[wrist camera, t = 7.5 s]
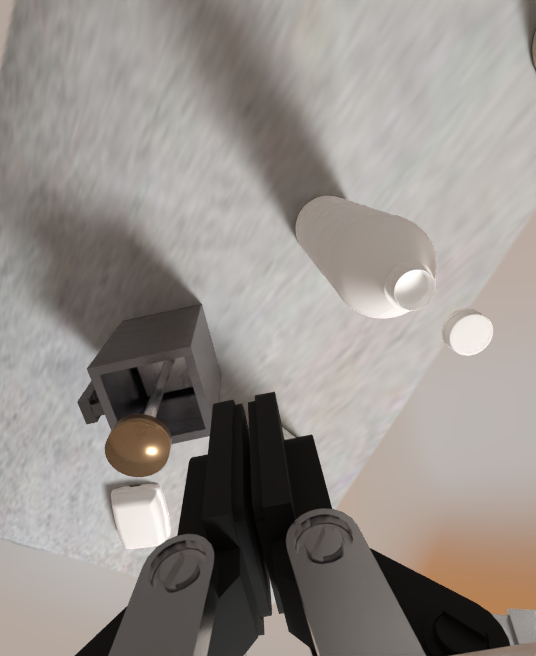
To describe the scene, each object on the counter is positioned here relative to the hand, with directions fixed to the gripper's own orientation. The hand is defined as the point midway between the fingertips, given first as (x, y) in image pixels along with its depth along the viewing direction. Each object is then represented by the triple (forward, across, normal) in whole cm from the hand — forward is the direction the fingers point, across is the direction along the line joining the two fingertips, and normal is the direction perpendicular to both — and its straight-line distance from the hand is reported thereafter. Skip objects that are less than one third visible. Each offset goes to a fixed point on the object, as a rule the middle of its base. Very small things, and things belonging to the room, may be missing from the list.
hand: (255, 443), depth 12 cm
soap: (+36, +20, +34) cm, 53 cm away
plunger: (+33, +10, +12) cm, 36 cm away
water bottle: (+37, -9, +2) cm, 38 cm away
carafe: (+36, +12, +12) cm, 40 cm away
